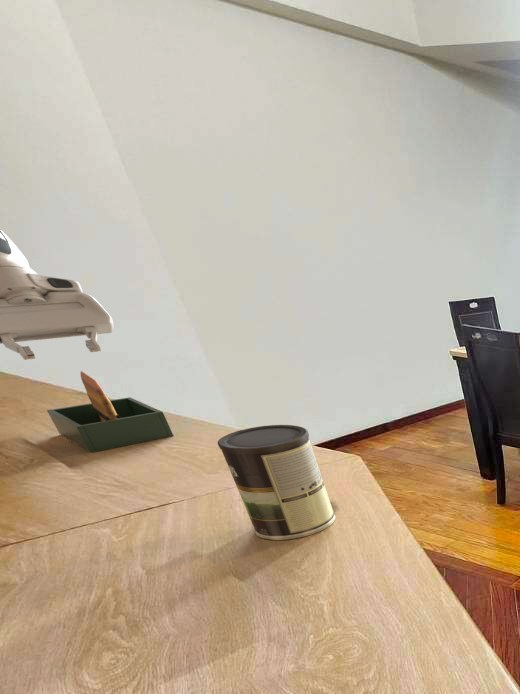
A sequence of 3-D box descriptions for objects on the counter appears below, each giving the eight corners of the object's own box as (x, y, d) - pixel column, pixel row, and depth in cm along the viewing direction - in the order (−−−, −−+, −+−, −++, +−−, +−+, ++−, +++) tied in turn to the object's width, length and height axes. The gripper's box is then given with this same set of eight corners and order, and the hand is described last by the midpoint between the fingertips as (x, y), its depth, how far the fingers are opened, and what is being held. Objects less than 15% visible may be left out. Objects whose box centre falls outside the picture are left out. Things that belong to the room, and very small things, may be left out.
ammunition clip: (104, 430, 121) (73, 371, 115) (116, 428, 122) (86, 369, 116) (118, 442, 115) (87, 380, 109) (131, 440, 117) (101, 379, 111)
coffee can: (249, 546, 84) (209, 452, 76) (261, 516, 91) (225, 428, 84) (334, 533, 88) (303, 442, 81) (338, 505, 96) (310, 421, 89)
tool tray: (90, 452, 110) (76, 427, 108) (60, 434, 118) (46, 410, 115) (173, 435, 120) (162, 411, 117) (141, 420, 127) (130, 397, 124)
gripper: (-67, 287, 105) (-19, 351, 106) (87, 280, 121) (128, 336, 121) (-58, 311, 109) (-11, 372, 110) (90, 301, 125) (130, 355, 125)
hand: (63, 353), depth 116 cm, fingers open, 8 cm apart
